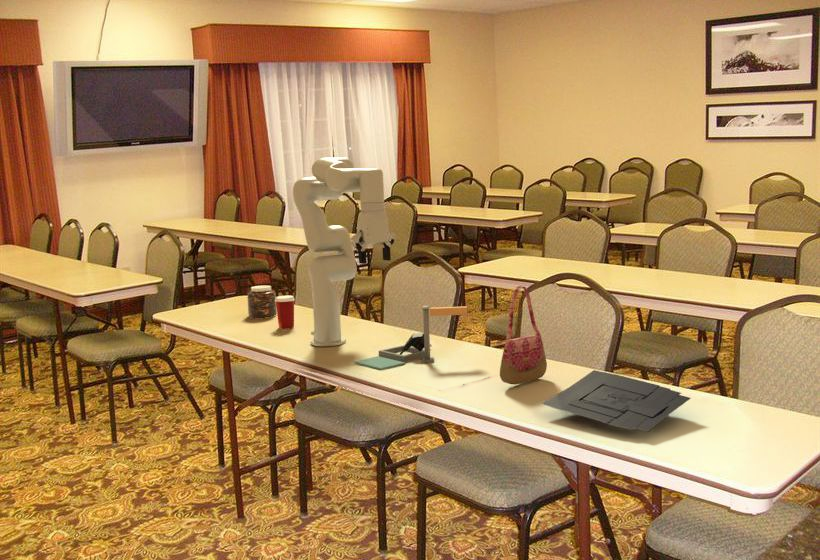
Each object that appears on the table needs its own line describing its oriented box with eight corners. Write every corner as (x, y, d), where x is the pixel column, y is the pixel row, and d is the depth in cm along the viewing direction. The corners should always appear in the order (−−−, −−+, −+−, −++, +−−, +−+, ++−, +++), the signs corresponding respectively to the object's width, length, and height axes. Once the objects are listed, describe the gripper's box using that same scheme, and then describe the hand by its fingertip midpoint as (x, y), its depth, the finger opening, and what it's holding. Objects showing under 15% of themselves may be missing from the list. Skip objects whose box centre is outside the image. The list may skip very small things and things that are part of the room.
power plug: (398, 349, 293) (418, 326, 287) (417, 361, 294) (436, 338, 288) (395, 359, 288) (415, 335, 282) (414, 371, 289) (434, 347, 283)
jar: (278, 319, 371) (276, 284, 369) (275, 324, 359) (273, 288, 357) (250, 320, 370) (248, 285, 368) (247, 325, 358) (244, 289, 356)
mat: (354, 363, 283) (354, 361, 283) (378, 358, 289) (378, 356, 289) (381, 370, 272) (380, 368, 272) (405, 364, 279) (405, 362, 278)
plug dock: (378, 356, 291) (376, 305, 289) (403, 351, 298) (401, 300, 296) (417, 365, 276) (415, 311, 274) (443, 359, 283) (441, 306, 281)
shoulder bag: (506, 387, 246) (504, 290, 242) (499, 385, 248) (497, 289, 244) (547, 376, 256) (545, 283, 252) (540, 375, 258) (538, 282, 255)
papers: (643, 445, 203) (642, 431, 202) (541, 413, 224) (540, 400, 223) (695, 404, 219) (695, 391, 217) (595, 378, 240) (594, 366, 239)
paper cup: (300, 330, 342) (298, 295, 340) (287, 334, 335) (285, 298, 333) (285, 329, 346) (283, 294, 344) (272, 333, 340) (270, 297, 338)
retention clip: (467, 319, 280) (466, 304, 280) (467, 321, 278) (467, 305, 277) (422, 321, 280) (421, 306, 280) (422, 323, 278) (421, 307, 277)
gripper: (386, 206, 282) (388, 258, 285) (343, 209, 271) (346, 263, 273) (401, 206, 277) (403, 259, 279) (357, 210, 265) (360, 265, 268)
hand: (374, 261), depth 276 cm, fingers open, 9 cm apart
